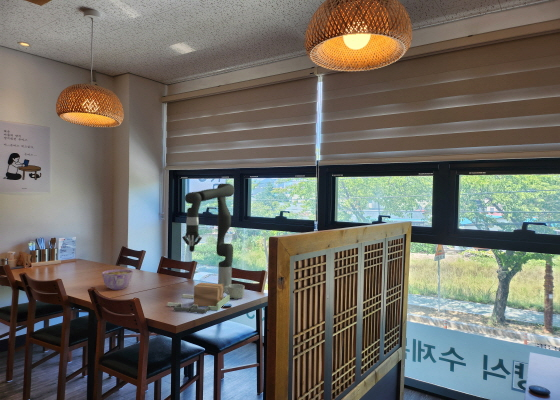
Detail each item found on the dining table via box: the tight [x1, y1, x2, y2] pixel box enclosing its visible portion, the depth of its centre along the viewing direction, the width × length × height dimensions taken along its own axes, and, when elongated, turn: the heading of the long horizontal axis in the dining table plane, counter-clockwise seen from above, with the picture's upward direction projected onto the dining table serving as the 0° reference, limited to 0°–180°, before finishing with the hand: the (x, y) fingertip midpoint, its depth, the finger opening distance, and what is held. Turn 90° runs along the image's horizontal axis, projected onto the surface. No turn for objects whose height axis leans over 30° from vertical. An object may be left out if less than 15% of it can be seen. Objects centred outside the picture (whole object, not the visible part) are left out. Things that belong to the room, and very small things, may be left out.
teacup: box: [223, 283, 245, 300], centre depth 252 cm, size 14×11×8 cm
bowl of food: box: [101, 268, 134, 291], centre depth 269 cm, size 20×20×12 cm
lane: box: [166, 293, 231, 314], centre depth 233 cm, size 28×32×4 cm
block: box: [193, 282, 224, 308], centre depth 236 cm, size 10×15×12 cm, turn 79°
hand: (191, 251), depth 243 cm, fingers closed
